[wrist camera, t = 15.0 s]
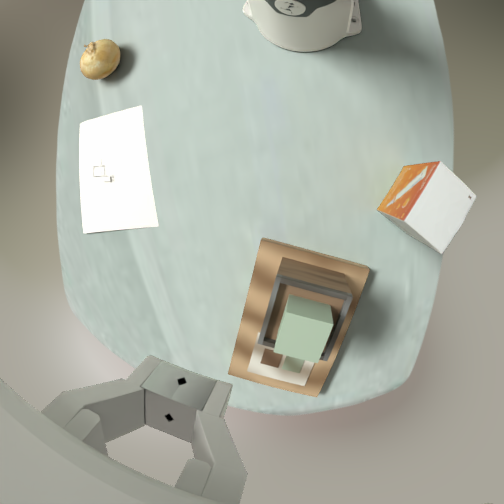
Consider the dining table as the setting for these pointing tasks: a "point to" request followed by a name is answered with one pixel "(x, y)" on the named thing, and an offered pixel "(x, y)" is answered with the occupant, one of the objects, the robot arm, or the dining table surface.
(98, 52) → the onion
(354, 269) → the oak base board
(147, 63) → the dining table surface
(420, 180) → the small box
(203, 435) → the robot arm
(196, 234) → the dining table surface
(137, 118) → the paper sheet
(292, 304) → the sage block
